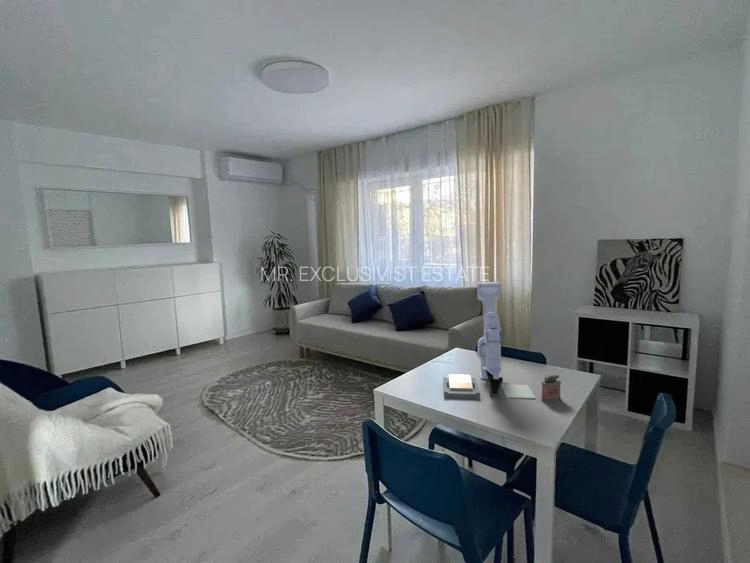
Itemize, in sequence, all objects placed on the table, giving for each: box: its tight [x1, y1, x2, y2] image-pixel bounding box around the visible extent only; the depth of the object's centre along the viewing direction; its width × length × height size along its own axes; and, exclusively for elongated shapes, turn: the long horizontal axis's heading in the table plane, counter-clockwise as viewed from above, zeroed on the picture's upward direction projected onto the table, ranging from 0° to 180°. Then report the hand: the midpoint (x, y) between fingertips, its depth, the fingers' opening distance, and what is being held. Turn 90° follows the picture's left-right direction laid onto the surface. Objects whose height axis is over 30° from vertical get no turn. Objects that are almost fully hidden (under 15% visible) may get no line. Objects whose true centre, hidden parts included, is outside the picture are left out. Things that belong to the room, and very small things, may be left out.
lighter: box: [541, 373, 562, 404], centre depth 143 cm, size 8×3×10 cm, turn 105°
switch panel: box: [442, 376, 481, 400], centre depth 155 cm, size 16×14×4 cm
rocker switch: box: [448, 373, 473, 390], centre depth 155 cm, size 10×9×1 cm
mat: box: [500, 384, 537, 400], centre depth 152 cm, size 13×11×1 cm
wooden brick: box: [488, 381, 499, 397], centre depth 150 cm, size 3×3×7 cm
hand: (493, 389), depth 150 cm, fingers open, 7 cm apart
